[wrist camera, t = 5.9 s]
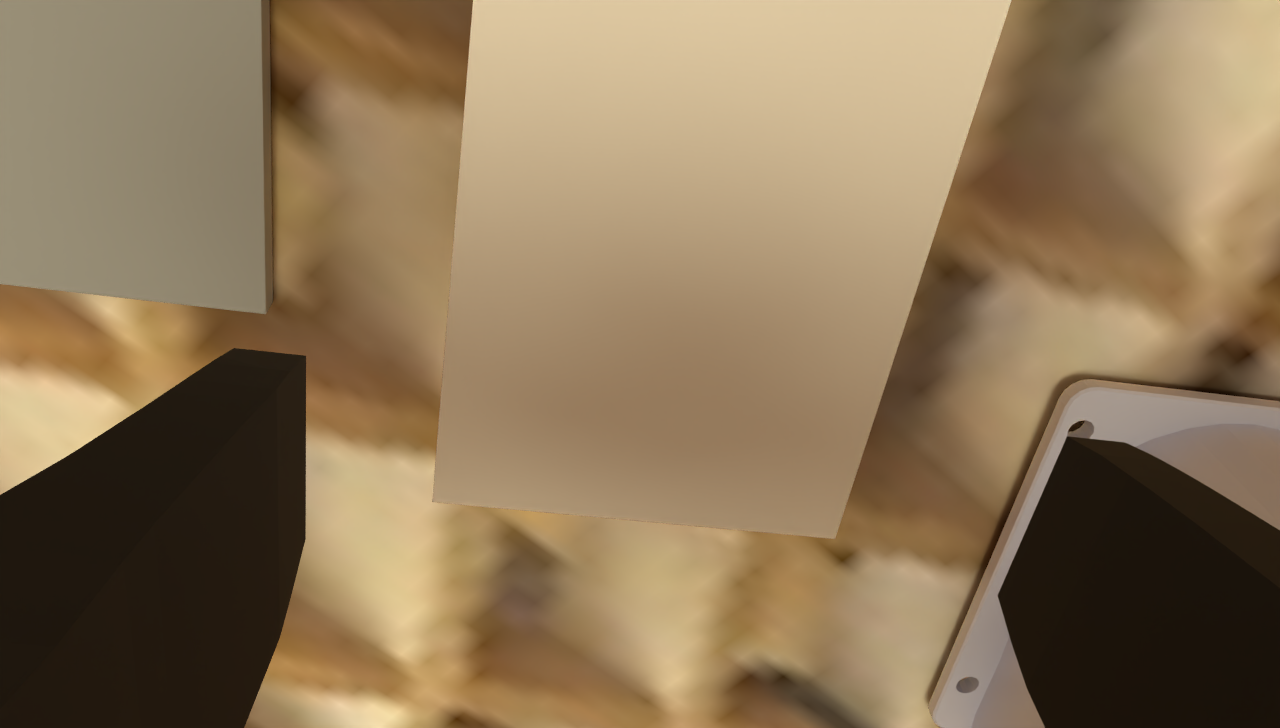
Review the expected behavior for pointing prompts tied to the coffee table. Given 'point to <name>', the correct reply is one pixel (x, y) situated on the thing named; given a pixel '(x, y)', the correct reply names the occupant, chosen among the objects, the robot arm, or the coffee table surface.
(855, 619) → the coffee table surface
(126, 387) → the coffee table surface
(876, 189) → the off-white block
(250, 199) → the grey mat
